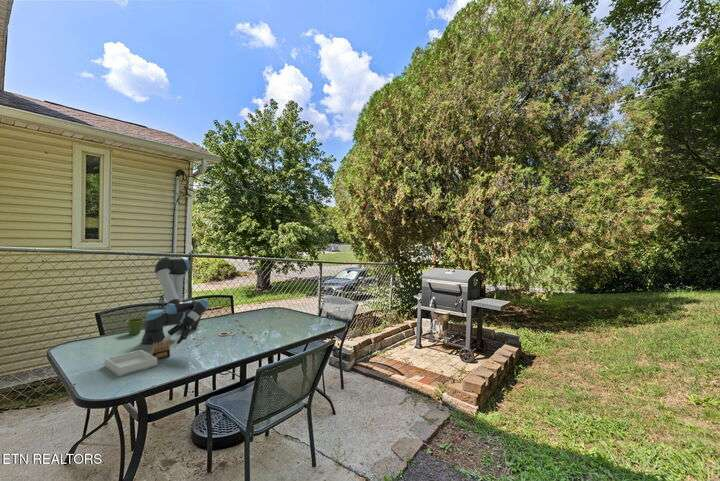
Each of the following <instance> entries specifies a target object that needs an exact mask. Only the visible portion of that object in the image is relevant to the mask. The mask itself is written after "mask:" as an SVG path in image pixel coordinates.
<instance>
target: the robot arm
mask: <svg viewBox="0 0 720 481" xmlns="http://www.w3.org/2000/svg"><path fill="white" fill-rule="evenodd" d="M189 270H190V261H189V259H188V258H187V257H185V256H165V257H162V258H160V259H159V260H158V261H157V262H156V264H155V266H154V273H155V276H156V277H158V280H159V283H160V285H161V288H162V291H163V294H164V297H165V300H166V302H167V304H166V305H165V310H164V309H162V308H161V309H160V308H159V309H153V310H150V311H148V312H147V313H145V318H144V321H145V322H144V324H145V325H144V326H145V327H144V333H143V336H142V338H141V344H142V345H146V346H148V345H152V346H153V343H154V342H155V345H156V342H158V344H159V342H160V341H161V344H162V341H164V345H165V340H166V341H167V342H168V339H169V340H170V339H171V338H172V337H173V335H174V334H176V333H178V332H179V331H180V332H181V334H180V336H179V337H178V338H177V339H176V341H175V342H174V343H173V344H172V345H171V347H172V349H176V348H177V347H178V346H179V344H180V343H182V341H184V340H185V341H186V340H187V338H188V336H189V334H190V332H191V330H193V329H192V327H191V326H192V325H193V324H194V323H195V321H197V319H198V318H199V317H200V316H201V317H202V315H203V314H204V313H205V312H206V310H208V308H209V306H210V302H209V301H208V300H206V299H205V298H201V299H200V300H194V299H188V300H186V301H182V296H183V286H184V285H183V284H184V276H185V275H187V272H189ZM189 311H190V312H189ZM185 312H189V313H188V314H187V316H186V317H185ZM167 326H168V327H169V326H173V327H172V328H170V329H169V330H168V331H167V335H165V332H164V327H167Z"/></svg>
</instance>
